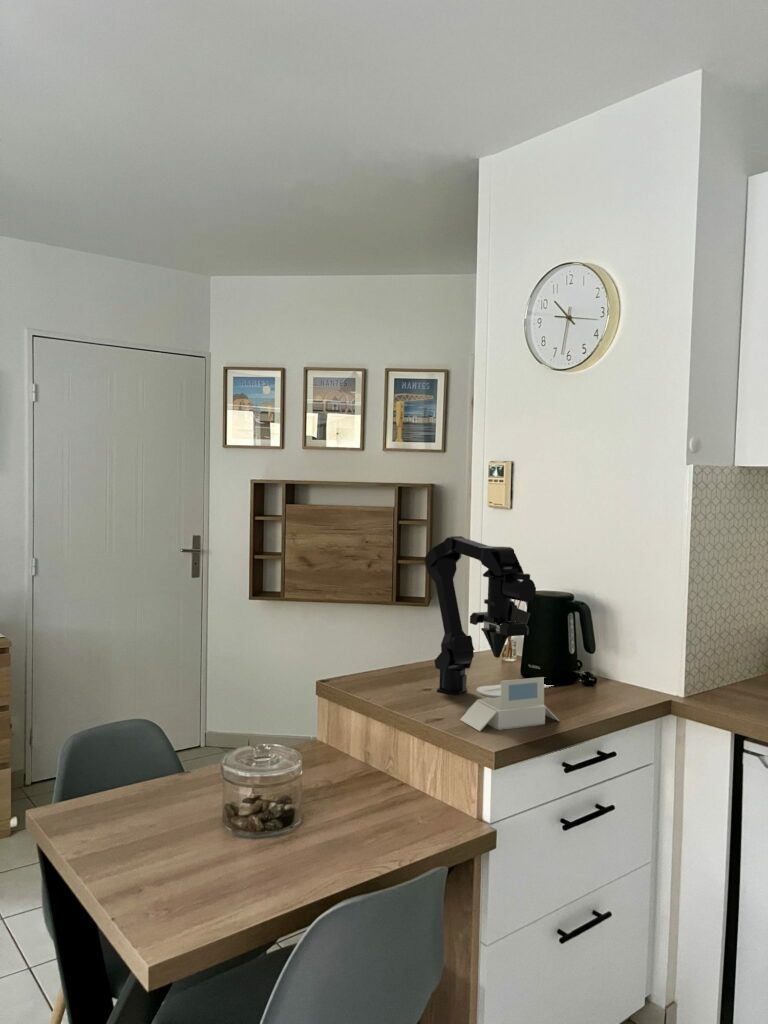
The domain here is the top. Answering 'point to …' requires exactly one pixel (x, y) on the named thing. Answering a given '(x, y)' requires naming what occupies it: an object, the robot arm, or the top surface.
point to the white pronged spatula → (495, 690)
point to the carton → (514, 715)
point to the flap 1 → (478, 716)
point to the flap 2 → (550, 714)
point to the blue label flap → (522, 692)
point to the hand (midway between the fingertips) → (496, 657)
